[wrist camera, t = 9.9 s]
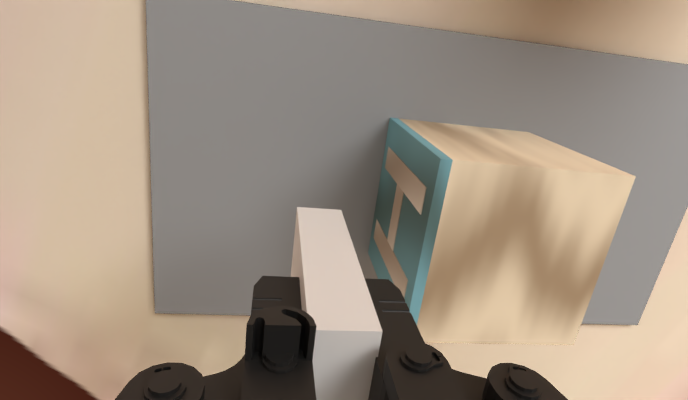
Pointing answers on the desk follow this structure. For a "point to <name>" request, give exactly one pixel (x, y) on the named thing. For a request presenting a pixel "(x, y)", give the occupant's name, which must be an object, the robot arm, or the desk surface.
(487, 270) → the block
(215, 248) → the mat
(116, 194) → the desk surface
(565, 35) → the desk surface
